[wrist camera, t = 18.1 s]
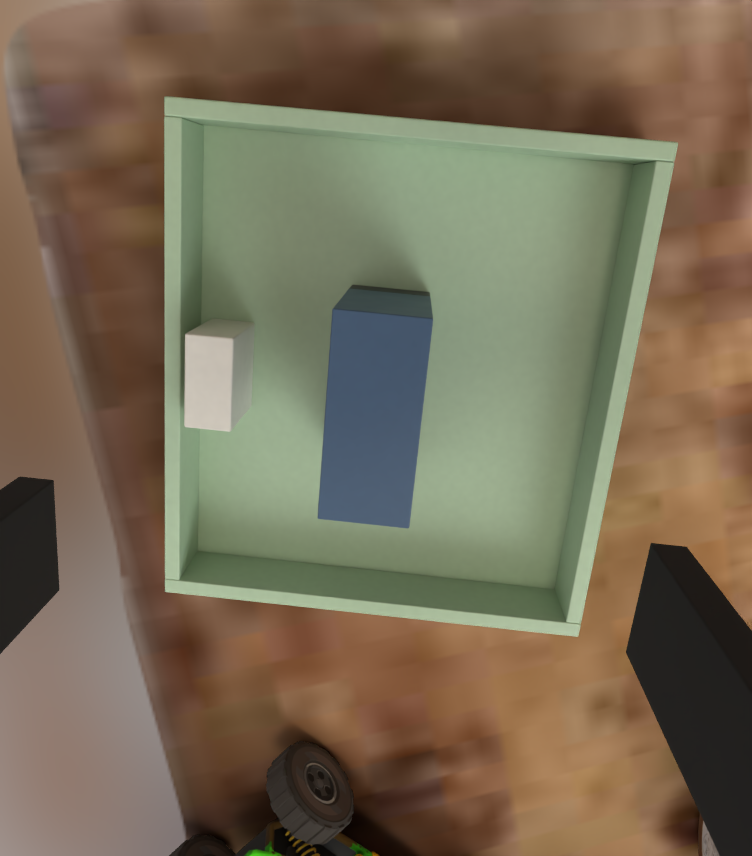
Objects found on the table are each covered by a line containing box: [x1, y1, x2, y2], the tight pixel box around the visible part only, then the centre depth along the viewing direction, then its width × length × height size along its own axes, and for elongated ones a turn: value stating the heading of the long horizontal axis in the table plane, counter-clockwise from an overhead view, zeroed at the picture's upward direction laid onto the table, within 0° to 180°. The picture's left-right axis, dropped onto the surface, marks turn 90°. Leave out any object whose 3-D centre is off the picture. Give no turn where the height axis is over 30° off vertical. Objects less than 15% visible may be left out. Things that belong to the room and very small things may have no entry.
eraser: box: [318, 285, 433, 528], centre depth 29 cm, size 8×4×8 cm, turn 175°
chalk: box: [184, 318, 255, 432], centre depth 31 cm, size 4×4×2 cm
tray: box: [164, 96, 678, 637], centre depth 32 cm, size 21×19×4 cm
